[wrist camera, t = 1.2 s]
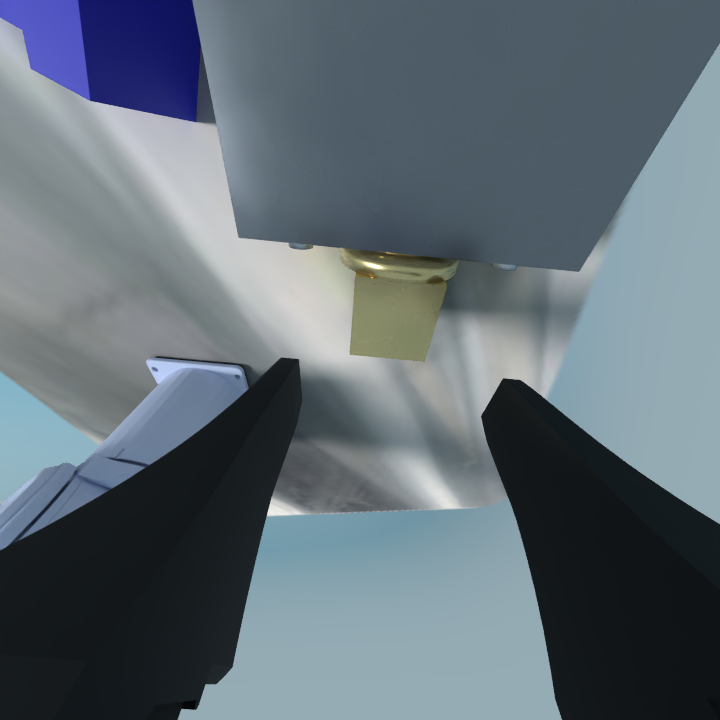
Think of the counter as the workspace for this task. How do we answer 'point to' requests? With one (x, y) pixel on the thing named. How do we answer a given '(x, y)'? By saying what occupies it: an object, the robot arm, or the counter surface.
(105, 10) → the cable clip
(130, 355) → the counter surface
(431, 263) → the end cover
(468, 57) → the block
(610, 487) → the robot arm
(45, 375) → the counter surface
